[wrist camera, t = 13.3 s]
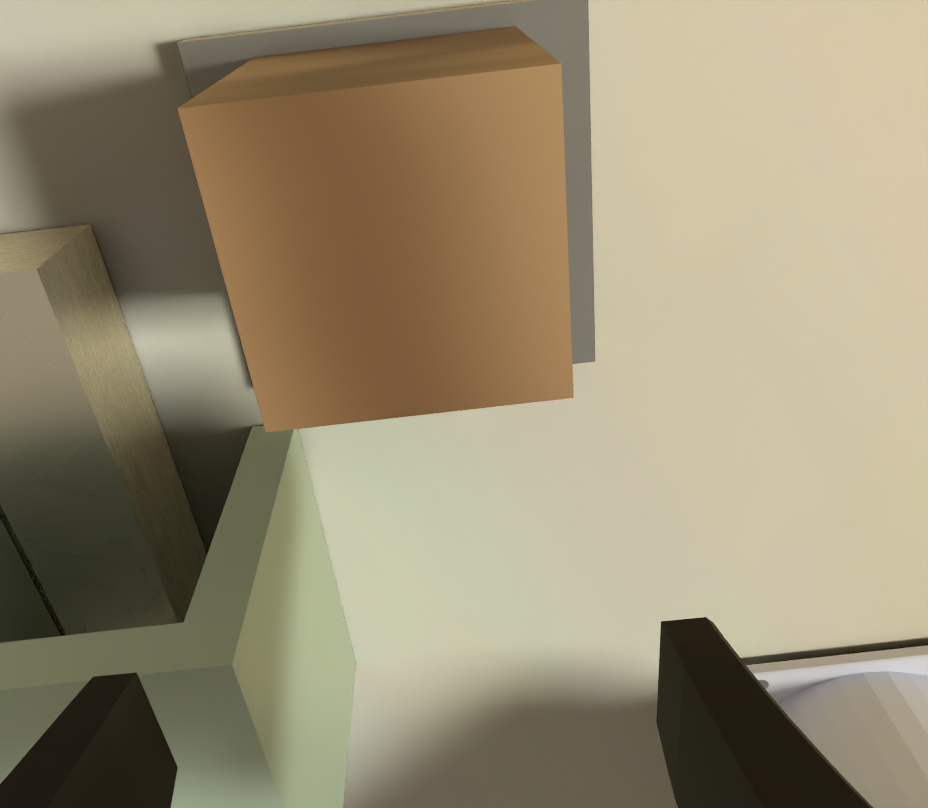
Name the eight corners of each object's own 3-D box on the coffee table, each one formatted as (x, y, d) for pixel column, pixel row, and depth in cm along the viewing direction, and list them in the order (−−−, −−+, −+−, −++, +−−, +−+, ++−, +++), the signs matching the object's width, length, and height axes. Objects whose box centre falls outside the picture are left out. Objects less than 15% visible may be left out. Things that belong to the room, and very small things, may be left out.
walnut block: (516, 26, 13) (561, 63, 9) (531, 273, 16) (573, 397, 11) (255, 56, 13) (177, 108, 9) (307, 299, 16) (265, 432, 11)
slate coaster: (581, -8, 14) (587, -6, 13) (590, 349, 17) (594, 361, 17) (186, 39, 14) (177, 42, 13) (274, 384, 17) (270, 398, 17)
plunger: (138, 218, 15) (45, 306, 12) (290, 696, 22) (264, 849, 19) (-84, 244, 15) (-249, 341, 12) (138, 713, 22) (81, 869, 19)
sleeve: (295, 421, 18) (232, 664, 12) (356, 664, 22) (331, 937, 16) (-73, 463, 18) (-324, 726, 12) (55, 697, 22) (-84, 981, 16)
